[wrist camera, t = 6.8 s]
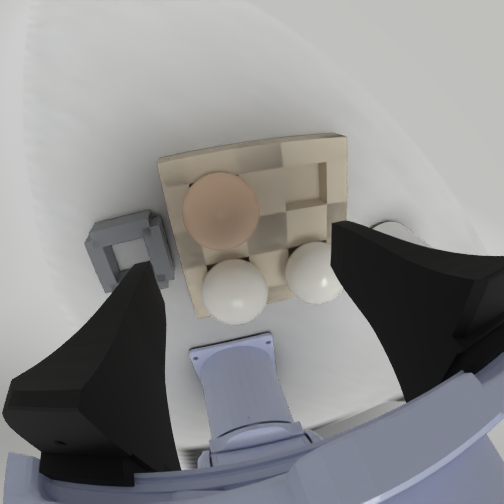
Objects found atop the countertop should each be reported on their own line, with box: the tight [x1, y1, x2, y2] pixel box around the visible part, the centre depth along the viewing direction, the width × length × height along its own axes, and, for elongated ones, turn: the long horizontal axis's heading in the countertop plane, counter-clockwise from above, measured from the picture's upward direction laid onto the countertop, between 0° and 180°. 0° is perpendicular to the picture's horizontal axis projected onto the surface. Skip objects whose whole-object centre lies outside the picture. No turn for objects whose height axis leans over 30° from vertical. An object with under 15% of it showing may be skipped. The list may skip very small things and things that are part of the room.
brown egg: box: [182, 172, 260, 251], centre depth 16 cm, size 4×4×4 cm
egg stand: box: [84, 210, 174, 293], centre depth 19 cm, size 5×5×2 cm
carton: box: [157, 133, 347, 319], centre depth 20 cm, size 12×12×2 cm
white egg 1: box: [202, 259, 268, 325], centre depth 19 cm, size 4×4×4 cm
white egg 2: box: [285, 242, 343, 305], centre depth 20 cm, size 4×4×4 cm
